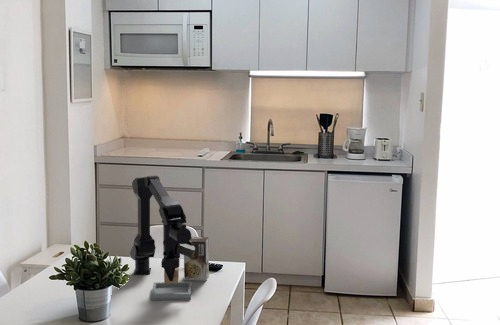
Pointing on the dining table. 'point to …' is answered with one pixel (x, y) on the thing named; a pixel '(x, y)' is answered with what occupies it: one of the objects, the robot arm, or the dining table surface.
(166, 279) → the walnut block
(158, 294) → the grey tray
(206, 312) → the dining table surface
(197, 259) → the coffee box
